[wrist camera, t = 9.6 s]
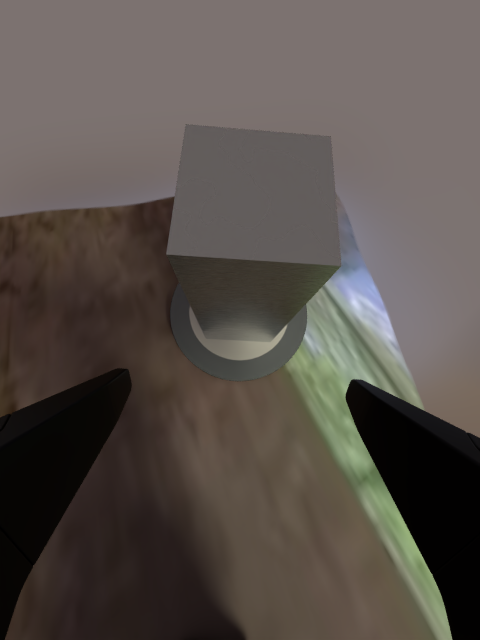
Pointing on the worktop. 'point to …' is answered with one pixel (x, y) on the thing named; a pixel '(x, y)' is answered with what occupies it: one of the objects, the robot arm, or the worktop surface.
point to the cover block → (252, 228)
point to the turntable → (233, 345)
